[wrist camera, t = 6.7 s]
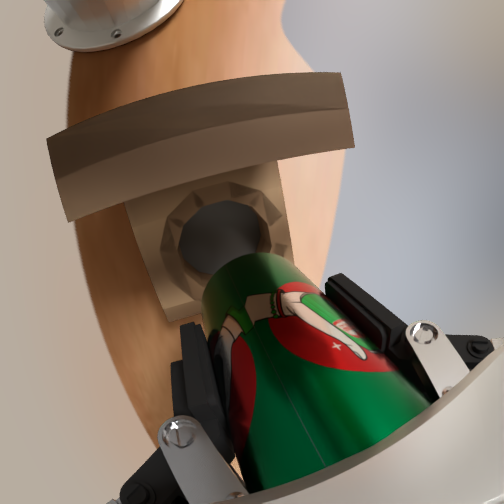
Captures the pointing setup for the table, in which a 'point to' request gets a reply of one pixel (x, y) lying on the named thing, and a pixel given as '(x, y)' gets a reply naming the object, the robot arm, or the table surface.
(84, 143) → the socket block
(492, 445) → the robot arm
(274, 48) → the table surface
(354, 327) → the soda can
